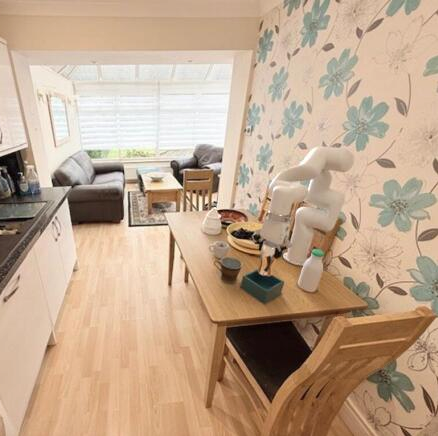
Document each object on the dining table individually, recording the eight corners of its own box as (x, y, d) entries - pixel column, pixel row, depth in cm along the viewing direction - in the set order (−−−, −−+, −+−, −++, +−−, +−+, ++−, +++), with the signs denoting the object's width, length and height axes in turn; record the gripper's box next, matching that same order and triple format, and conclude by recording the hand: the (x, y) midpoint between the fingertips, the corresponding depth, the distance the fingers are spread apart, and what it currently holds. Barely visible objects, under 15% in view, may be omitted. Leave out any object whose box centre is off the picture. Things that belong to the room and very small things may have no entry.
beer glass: (275, 278, 104) (282, 248, 98) (258, 276, 105) (264, 247, 99) (270, 268, 110) (277, 240, 104) (254, 267, 112) (260, 239, 106)
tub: (257, 278, 120) (259, 267, 117) (281, 293, 110) (284, 281, 107) (240, 287, 114) (242, 275, 111) (264, 303, 104) (267, 291, 101)
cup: (207, 257, 138) (208, 245, 135) (209, 250, 145) (210, 239, 142) (226, 261, 134) (228, 249, 131) (227, 254, 141) (229, 242, 138)
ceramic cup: (239, 275, 123) (242, 259, 119) (238, 287, 114) (242, 270, 110) (213, 270, 127) (215, 254, 123) (211, 281, 118) (213, 265, 114)
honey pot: (222, 234, 164) (226, 210, 157) (204, 234, 164) (206, 210, 157) (218, 226, 176) (221, 203, 168) (200, 226, 176) (202, 203, 169)
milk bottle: (316, 294, 109) (329, 258, 101) (297, 288, 113) (308, 252, 105) (316, 285, 115) (328, 249, 107) (297, 280, 119) (308, 245, 111)
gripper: (305, 221, 92) (293, 260, 99) (264, 208, 105) (257, 243, 113) (294, 226, 88) (283, 266, 95) (253, 211, 102) (246, 247, 109)
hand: (269, 253), depth 104 cm, fingers closed on beer glass, 7 cm apart
